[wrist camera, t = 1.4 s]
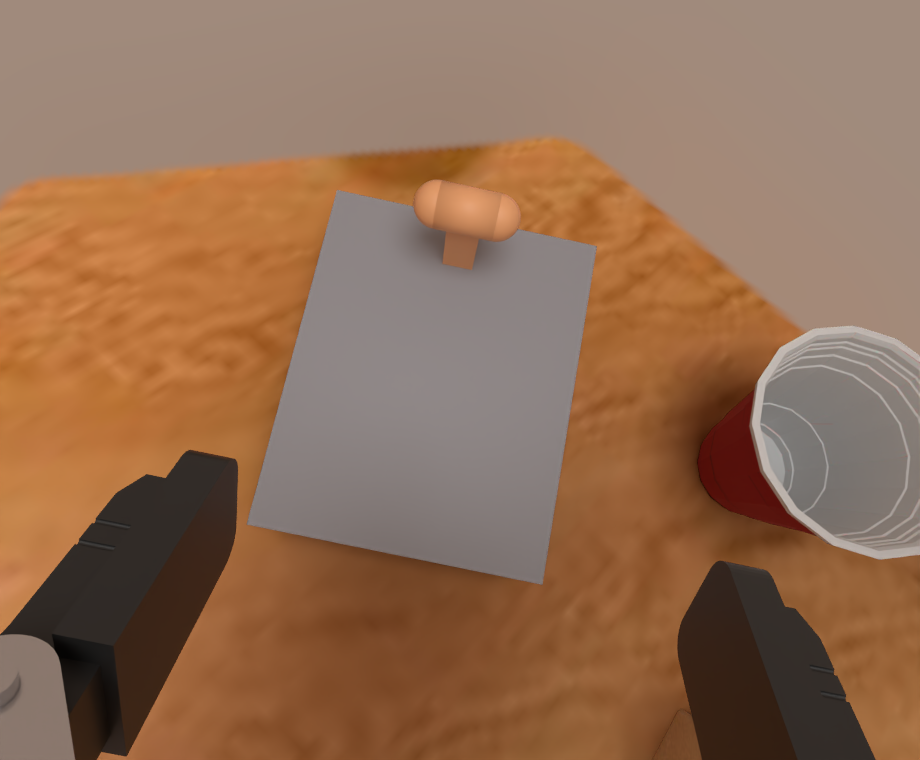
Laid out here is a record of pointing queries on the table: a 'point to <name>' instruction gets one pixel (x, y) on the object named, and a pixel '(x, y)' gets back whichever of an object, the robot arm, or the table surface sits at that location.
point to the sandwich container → (679, 740)
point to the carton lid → (431, 383)
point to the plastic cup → (827, 443)
